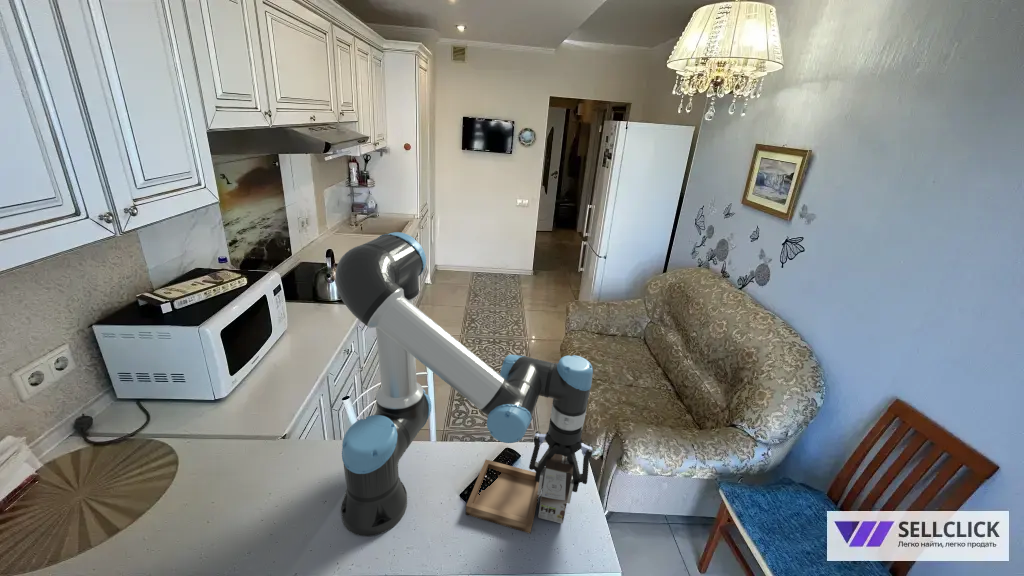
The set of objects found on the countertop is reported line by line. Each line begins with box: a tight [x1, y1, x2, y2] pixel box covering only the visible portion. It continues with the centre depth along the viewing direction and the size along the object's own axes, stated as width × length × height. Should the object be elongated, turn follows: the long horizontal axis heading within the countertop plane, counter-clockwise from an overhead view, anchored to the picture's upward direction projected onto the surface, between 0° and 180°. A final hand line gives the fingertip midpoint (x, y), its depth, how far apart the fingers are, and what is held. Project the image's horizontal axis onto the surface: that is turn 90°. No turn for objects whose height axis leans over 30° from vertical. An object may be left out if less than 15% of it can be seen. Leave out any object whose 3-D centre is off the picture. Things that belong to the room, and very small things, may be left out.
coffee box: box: [537, 446, 573, 524], centre depth 98 cm, size 9×6×16 cm
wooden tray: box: [465, 459, 540, 534], centre depth 103 cm, size 16×15×3 cm
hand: (554, 494), depth 100 cm, fingers closed on coffee box, 7 cm apart
